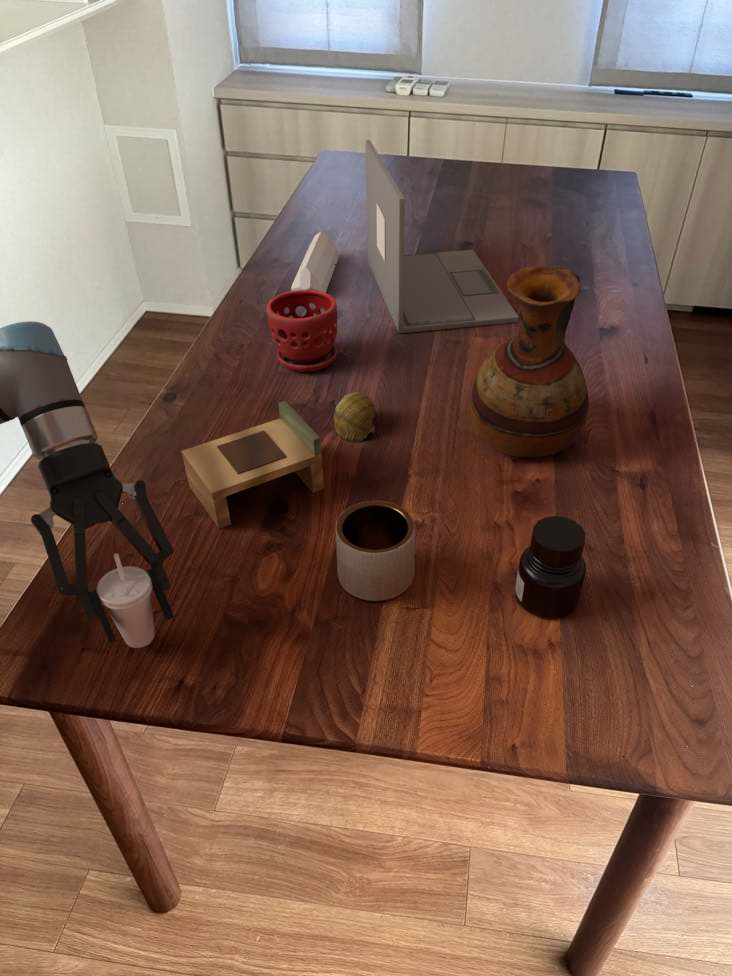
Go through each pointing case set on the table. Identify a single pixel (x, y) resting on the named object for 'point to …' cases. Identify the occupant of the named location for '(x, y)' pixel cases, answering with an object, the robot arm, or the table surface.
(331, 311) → the flower pot
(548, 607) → the ink bottle
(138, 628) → the smoothie
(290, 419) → the small wooden bench
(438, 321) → the laptop
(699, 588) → the table surface
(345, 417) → the seashell
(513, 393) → the clay vase
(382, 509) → the planter
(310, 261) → the white triangular prism
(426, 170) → the table surface
